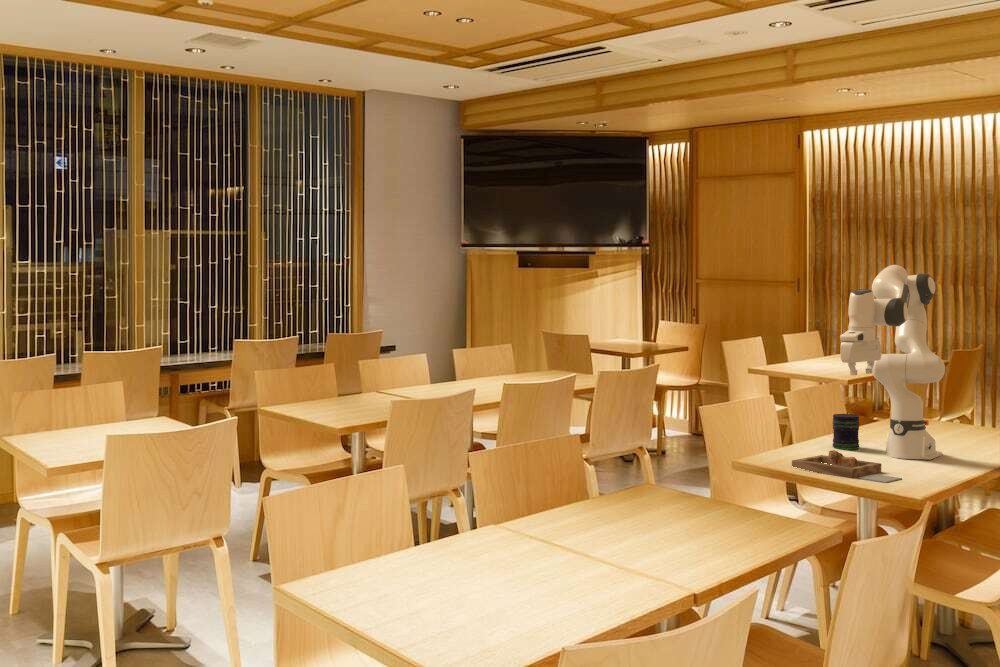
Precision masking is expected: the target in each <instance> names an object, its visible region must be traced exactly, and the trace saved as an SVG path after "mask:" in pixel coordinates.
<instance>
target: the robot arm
mask: <svg viewBox="0 0 1000 667" xmlns="http://www.w3.org/2000/svg"><path fill="white" fill-rule="evenodd" d="M935 294H936V282H935V281H934V278H933V277H932V275H930V274H929V273H918V274H913V275H911V274H910V275H908V272H907V270H906V269H905V268H904V267H903V266H901V265H898V264H890V265H888V266H886V267H884V268H883V269H882V270H880V272H879V273H877V275H876V276H875V277H874V279H873V281H872V283H871V289H866V288H863V289H862V288H861V289H855V290H853V291H851V292H850V294H849V300H848V308H847V309H848V310H847V313H848V319H849V322H848V327H847V329H848V330H846V331H845V332H844V333H842V334H840V336H839V339H840V342H841V343H840V348H839V349H840V360H841V362H842V363H843V364H845V363H847V366H848V368H849V370H850V372H849V373H850V376H857V375H858V370H857V368H856V366H857V363H863V362H864V363H865V362H866V364H867V366H866V368H865V374H867V375H868V374H869V375H870V374H872V376H873V377H874V379H875V380H876V381H878V382H879V383H881V385H882V386H883V387H884V388H885V390H886V391H887V394H888V396H889V400H890V409H891V410H890V411H891V413H890V414H891V415H890V416H891V418H890V419H889V428H890V431H888V432H887V433H886V434H887V437H886V446H885V447H886V448H885V450H883V453H884V454H886V455H887V457H889V456H890V458H896V459H902V460H903V459H905V460H932V459H933V460H934V459H935V458H937V457H940V456H942V455H943V452H942V451H938V450H936V448H937V447H936V440H935V438H934V437H933V436H932V435H931V434H930V432H928V431H927V430H926V426H929V424H930V420H928V419H924V401H923V399H922V396H920V395H918V394H917V393H915V392H913V391H911V390H909V389H908V388H907V386H906V384H908V383H909V384H931V383H932V384H933V383H939V382H940V381H941V380H942V379H943V377H944V375H945V372H946V365H945V363H944V361H943V359H942V358H941V357H940V356H938V355H937V354H935V353H934V352H933V351H931V349H930V348H929V346H928V343H927V329H928V317H927V311H926V309H925V306H928V305H929V304H930V301H932V300H933V298H934V296H935ZM876 326H883V327H884V326H889V327H895V334H894V344H895V346H896V347H897V349H898V350H899V351H901V352H902V353H885V354H884V353H883V354H882V347H881V341H880V339H879V337H878V335H877V334H876Z"/></svg>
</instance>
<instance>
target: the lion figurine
mask: <svg viewBox="0 0 1000 667" xmlns="http://www.w3.org/2000/svg"><path fill="white" fill-rule="evenodd" d="M827 456H828V457H829V459H830V460H831V461H832V462H833V463H834V464H837V466H841V464H842V465H849V464H851V466H852V467H856V462H857V465H858V466H859V463H858V461H857V460H858V459H857V458H856V457H854V456H844V455H843V454H842V453H841V452H839V451H838V450H834V449H831V450H829V451H828V455H827Z"/></svg>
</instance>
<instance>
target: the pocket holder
mask: <svg viewBox="0 0 1000 667" xmlns="http://www.w3.org/2000/svg"><path fill="white" fill-rule="evenodd" d="M857 461H858V463H859V466H858V465H857V462H856V467H852V466H851V464H849V465H842V464H841V466H837V464H834V463H833V462H832V461H831V460H830V459H829V457H828V455H823V454H820V455H816V456H815V455H814V456H808V457H802V458H798V459H792V460H791V467H792V466H793V467H797V468H801V469H805V470H804V471H806V470H809V471H808V472H810V471H813V472H812V473H815V472H819V473H818V474H822V473H823V474H822V475H827V476H828V475H829V476H835V477H840V478H841V477H843V478H848V479H855V478H858V477H863V476H868V475H872V474H879V473H882V463H879V462H874V461H873V462H872V461H865V460H860V459H859V460H858V459H857ZM821 462H822V463H821ZM824 463H827V464H824ZM830 464H832V465H830ZM797 468H796V469H797ZM801 469H800V470H801Z"/></svg>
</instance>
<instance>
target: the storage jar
mask: <svg viewBox="0 0 1000 667" xmlns="http://www.w3.org/2000/svg"><path fill="white" fill-rule="evenodd" d="M832 417H833V418H832V429H833V438H832V447H834V449H837V450H841V451H857V450H859V448H860V444H859V443H860V440H859V430H860V422H859V421H860V419H859V418H860V415H858V414H851V413H836V414H835V413H834V414H833V415H832Z"/></svg>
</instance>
